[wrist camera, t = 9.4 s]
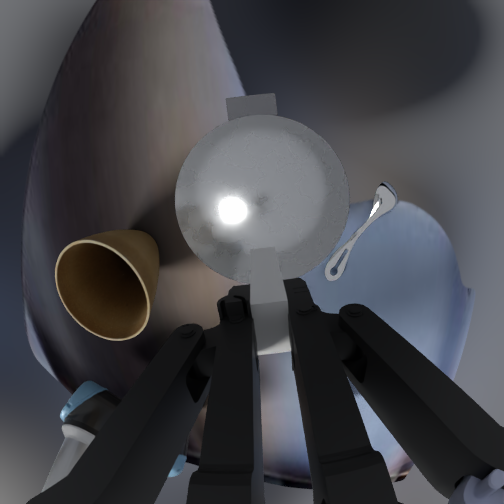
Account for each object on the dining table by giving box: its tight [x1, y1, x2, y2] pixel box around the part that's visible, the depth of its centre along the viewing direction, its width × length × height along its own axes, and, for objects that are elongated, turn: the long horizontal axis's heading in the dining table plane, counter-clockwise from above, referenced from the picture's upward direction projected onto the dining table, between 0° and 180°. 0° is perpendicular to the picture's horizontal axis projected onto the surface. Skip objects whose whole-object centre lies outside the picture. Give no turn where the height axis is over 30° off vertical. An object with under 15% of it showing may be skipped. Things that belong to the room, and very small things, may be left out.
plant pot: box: [55, 230, 159, 341], centre depth 38 cm, size 15×15×16 cm
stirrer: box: [324, 182, 397, 281], centre depth 43 cm, size 20×4×5 cm
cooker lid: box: [175, 93, 350, 284], centre depth 29 cm, size 19×21×2 cm
